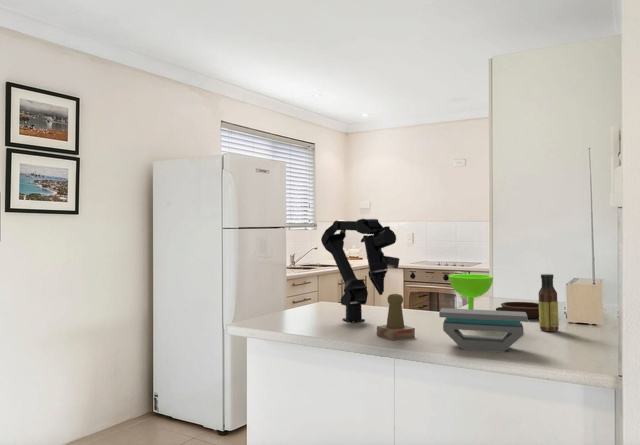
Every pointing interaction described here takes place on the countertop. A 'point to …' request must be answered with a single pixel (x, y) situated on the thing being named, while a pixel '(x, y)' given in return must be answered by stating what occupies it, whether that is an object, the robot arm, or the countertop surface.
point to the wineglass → (471, 285)
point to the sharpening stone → (483, 328)
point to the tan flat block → (395, 332)
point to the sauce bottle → (548, 305)
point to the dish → (521, 308)
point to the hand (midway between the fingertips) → (381, 293)
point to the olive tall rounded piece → (395, 312)
